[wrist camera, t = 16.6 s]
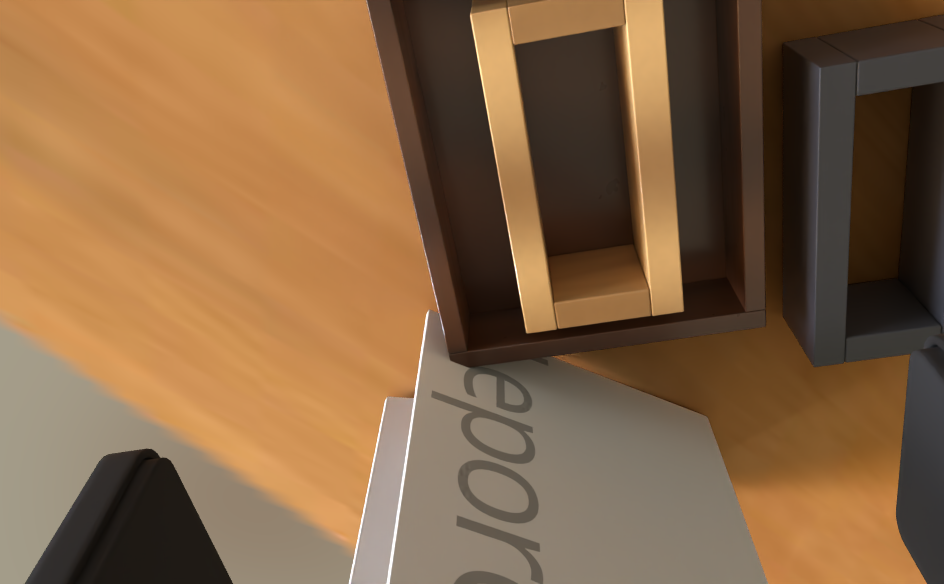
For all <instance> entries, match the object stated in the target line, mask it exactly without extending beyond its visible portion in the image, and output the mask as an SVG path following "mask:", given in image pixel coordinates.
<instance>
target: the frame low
mask: <svg viewBox="0 0 944 584" xmlns="http://www.w3.org/2000/svg"><path fill="white" fill-rule="evenodd" d="M909 87H913V90H912V103H911V116H910V130H909V143H908V156H907V170H906V183H905V196H904V209H903V223H902V236H901V249H900V262H899V276H898V279H897V278H894V279H887V280H880V281H873V282H866V283H859V284H852V285H848V262H849V239H850V215H851V191H852V167H853V143H854V119H855V95H856V96H861V95H867V94H873V93H879V92H885V91H891V90H897V89H903V88H909ZM783 318H784V319H785V321H786V323H787V324H788V326H789V327H790V329H791V331H792V332H793V334H794V336H795V337H796V339H797V340H798V342H799V344H800V345H801V347H802V349H803V350H804V352H805V354H806V355H807V357H808V358H809V360H810V362H811V363H812V365H813V367H820V366H827V365H835V364H843V363H844V361H845V362H854V361H862V360H869V359H877V358H885V357H892V356H900V355H907V354H912V352H913V351H915V350H920V349H923V347H924V343H925V341H926V339H927V338H928V337H930V336H932V335H938V334H944V15H939V16H933V17H927V18H921V19H919V20H911V21H905V22H899V23H893V24H888V25H882V26H876V27H871V28H865V29H859V30H853V31H848V32H842V33H836V34H831V35H825V36H819V37H817V38H816V37H812V38H806V39H800V40H795V41H789V42H784V43H783Z"/></svg>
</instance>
